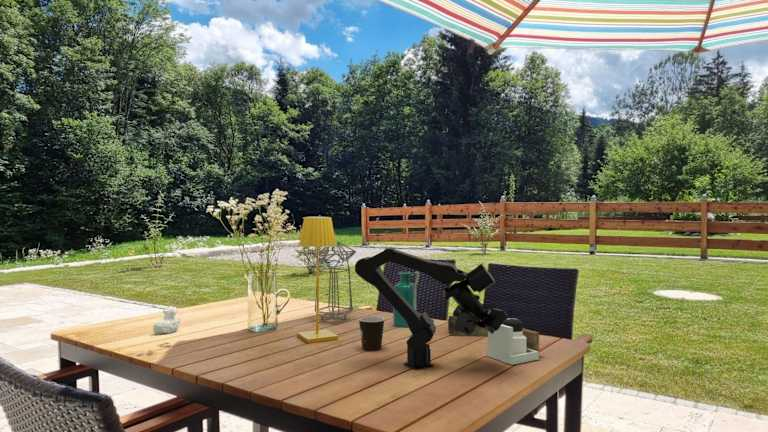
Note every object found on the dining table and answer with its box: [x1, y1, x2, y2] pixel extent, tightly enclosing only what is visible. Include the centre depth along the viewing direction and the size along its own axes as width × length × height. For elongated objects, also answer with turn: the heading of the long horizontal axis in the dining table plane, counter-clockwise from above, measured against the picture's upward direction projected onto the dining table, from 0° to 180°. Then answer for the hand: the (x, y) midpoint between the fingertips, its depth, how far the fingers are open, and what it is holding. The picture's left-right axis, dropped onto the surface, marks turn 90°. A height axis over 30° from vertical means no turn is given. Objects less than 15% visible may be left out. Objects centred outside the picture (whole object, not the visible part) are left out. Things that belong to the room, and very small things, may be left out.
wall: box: [522, 327, 540, 353], centre depth 161 cm, size 2×8×8 cm, turn 30°
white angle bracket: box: [485, 324, 540, 366], centre depth 158 cm, size 12×12×11 cm
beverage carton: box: [447, 315, 488, 337], centre depth 190 cm, size 8×19×7 cm, turn 87°
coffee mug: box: [358, 316, 385, 352], centre depth 170 cm, size 12×9×10 cm
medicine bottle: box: [502, 318, 527, 355], centre depth 158 cm, size 7×7×12 cm
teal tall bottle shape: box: [392, 271, 420, 328], centre depth 204 cm, size 10×8×22 cm
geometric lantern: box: [309, 239, 357, 324], centre depth 211 cm, size 16×16×35 cm
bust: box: [152, 305, 181, 335], centre depth 191 cm, size 12×8×11 cm
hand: (492, 332), depth 153 cm, fingers closed
